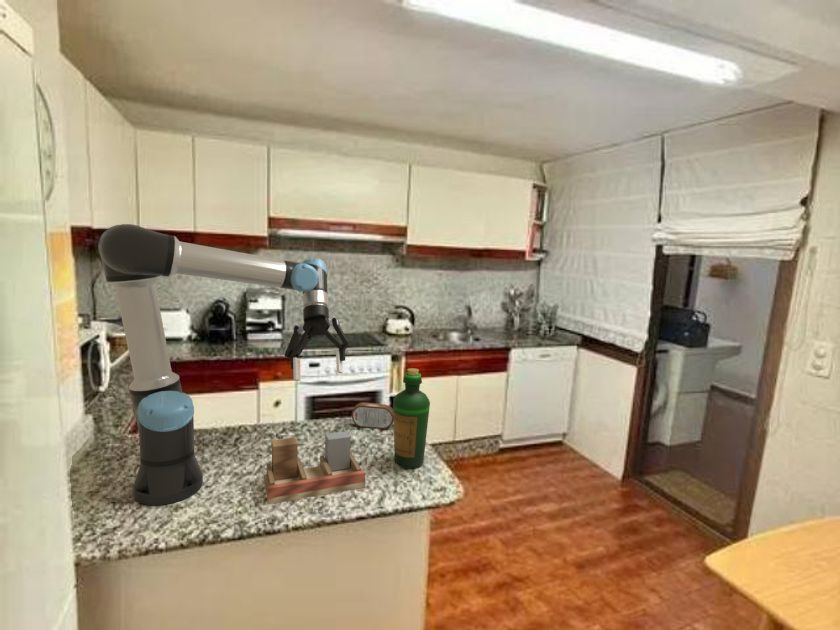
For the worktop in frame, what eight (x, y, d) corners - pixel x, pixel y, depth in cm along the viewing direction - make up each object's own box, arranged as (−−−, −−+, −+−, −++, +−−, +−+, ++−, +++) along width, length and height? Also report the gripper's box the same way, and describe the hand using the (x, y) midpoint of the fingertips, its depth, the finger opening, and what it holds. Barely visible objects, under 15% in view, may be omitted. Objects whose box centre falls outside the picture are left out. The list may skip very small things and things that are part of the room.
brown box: (273, 480, 115) (273, 446, 114) (271, 471, 119) (271, 439, 118) (297, 476, 118) (297, 443, 116) (294, 468, 122) (294, 436, 120)
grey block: (327, 471, 121) (328, 439, 119) (324, 463, 125) (324, 432, 124) (349, 468, 123) (350, 436, 122) (345, 460, 127) (346, 430, 126)
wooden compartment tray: (268, 504, 108) (268, 486, 107) (263, 480, 118) (263, 463, 118) (364, 487, 117) (365, 471, 117) (352, 466, 128) (353, 451, 127)
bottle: (386, 456, 135) (389, 365, 131) (419, 452, 139) (423, 364, 135) (396, 473, 125) (401, 376, 121) (432, 468, 129) (437, 373, 125)
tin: (394, 427, 157) (395, 404, 156) (393, 431, 154) (394, 407, 153) (352, 423, 159) (353, 400, 157) (350, 427, 156) (350, 403, 154)
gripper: (358, 303, 138) (363, 371, 131) (285, 319, 143) (286, 385, 136) (348, 295, 131) (353, 366, 124) (272, 312, 136) (272, 381, 129)
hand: (318, 376), depth 130 cm, fingers open, 13 cm apart
